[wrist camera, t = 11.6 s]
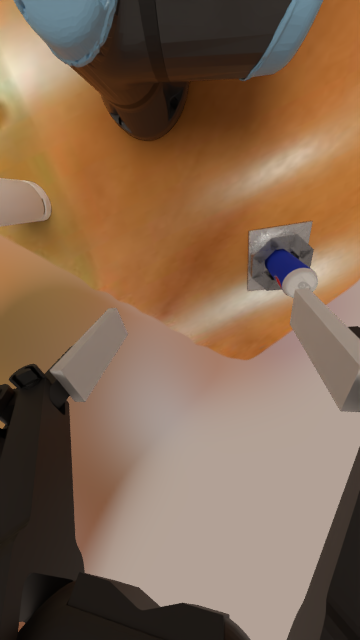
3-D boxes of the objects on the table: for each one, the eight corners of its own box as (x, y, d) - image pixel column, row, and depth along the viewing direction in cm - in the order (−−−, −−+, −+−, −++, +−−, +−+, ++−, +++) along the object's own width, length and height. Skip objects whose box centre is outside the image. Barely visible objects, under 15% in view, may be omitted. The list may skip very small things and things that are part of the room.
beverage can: (259, 262, 43) (276, 289, 30) (276, 243, 40) (303, 263, 28) (275, 275, 44) (299, 305, 31) (294, 256, 41) (328, 281, 29)
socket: (248, 230, 40) (251, 234, 37) (310, 220, 38) (320, 223, 34) (247, 289, 48) (250, 297, 44) (299, 284, 45) (306, 292, 41)
